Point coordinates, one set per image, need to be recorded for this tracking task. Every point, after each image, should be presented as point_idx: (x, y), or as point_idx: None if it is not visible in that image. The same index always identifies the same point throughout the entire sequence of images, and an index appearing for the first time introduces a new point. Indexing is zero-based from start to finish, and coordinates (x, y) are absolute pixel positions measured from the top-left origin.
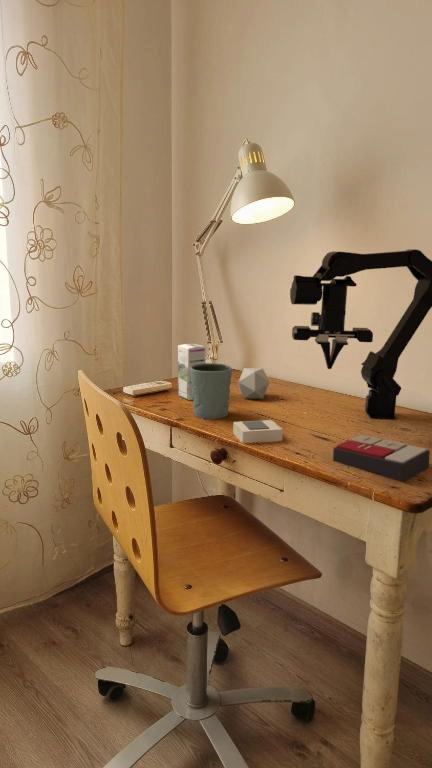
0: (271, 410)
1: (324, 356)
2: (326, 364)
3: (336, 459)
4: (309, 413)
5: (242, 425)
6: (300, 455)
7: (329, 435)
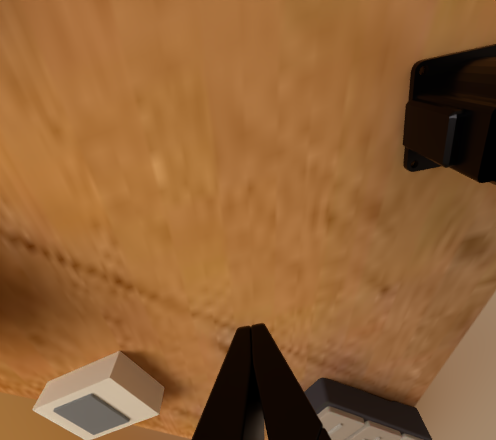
0: (25, 178)
1: (197, 429)
2: (228, 353)
3: None
4: (177, 172)
5: (65, 419)
6: None
7: None
